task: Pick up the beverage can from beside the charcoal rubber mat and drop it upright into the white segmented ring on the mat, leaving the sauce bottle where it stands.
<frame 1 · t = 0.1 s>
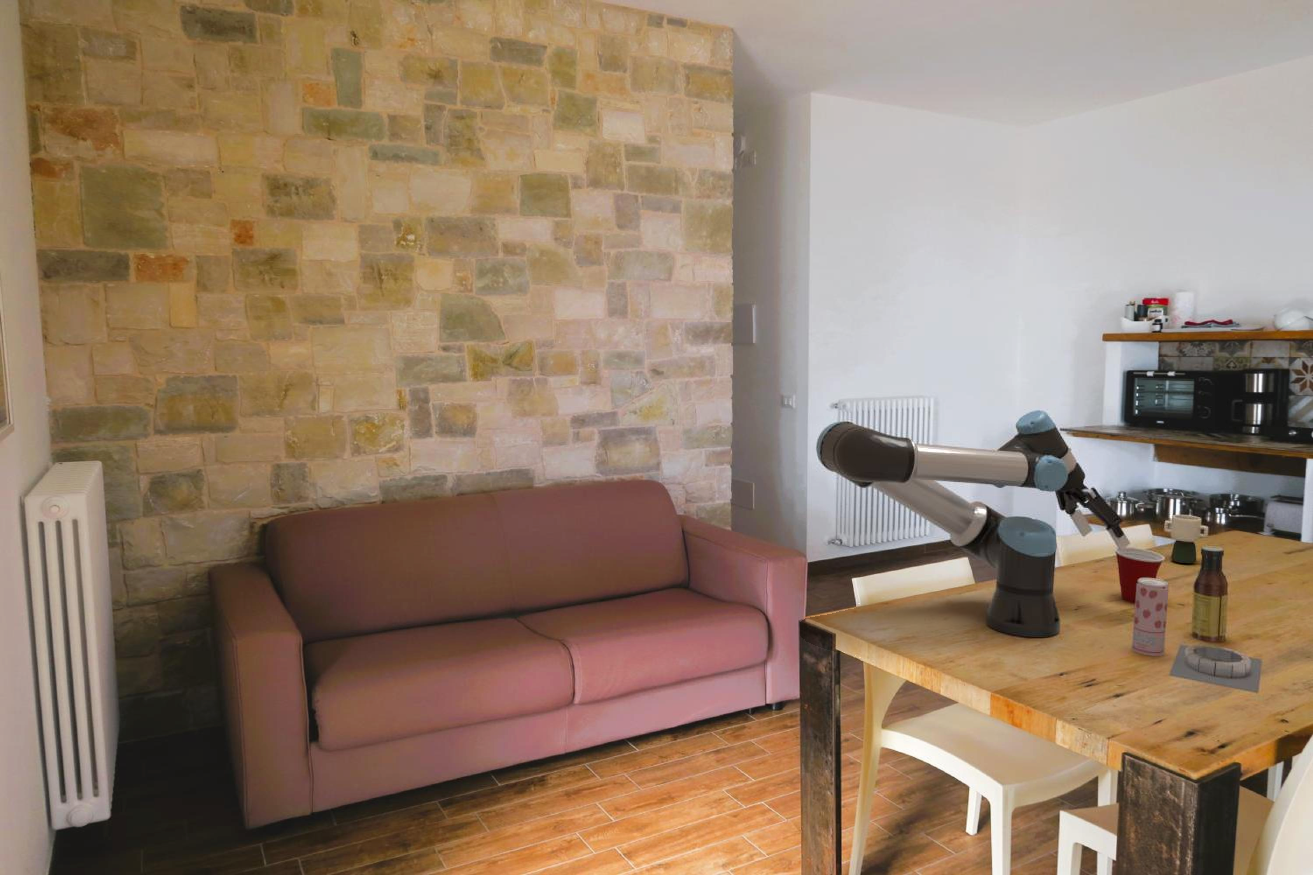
hand: (1105, 539, 213), 15 cm above the table, tool tilted 35°, fingers open, 13 cm apart
plastic cup: (1136, 600, 216), on the table
white segmented ring: (1216, 666, 173), resting on holder mat
sauce bottle: (1207, 640, 189), on the table
cup on green stand: (1183, 563, 251), on the table
beverage can: (1147, 653, 182), on the table
holder mat: (1216, 669, 173), on the table
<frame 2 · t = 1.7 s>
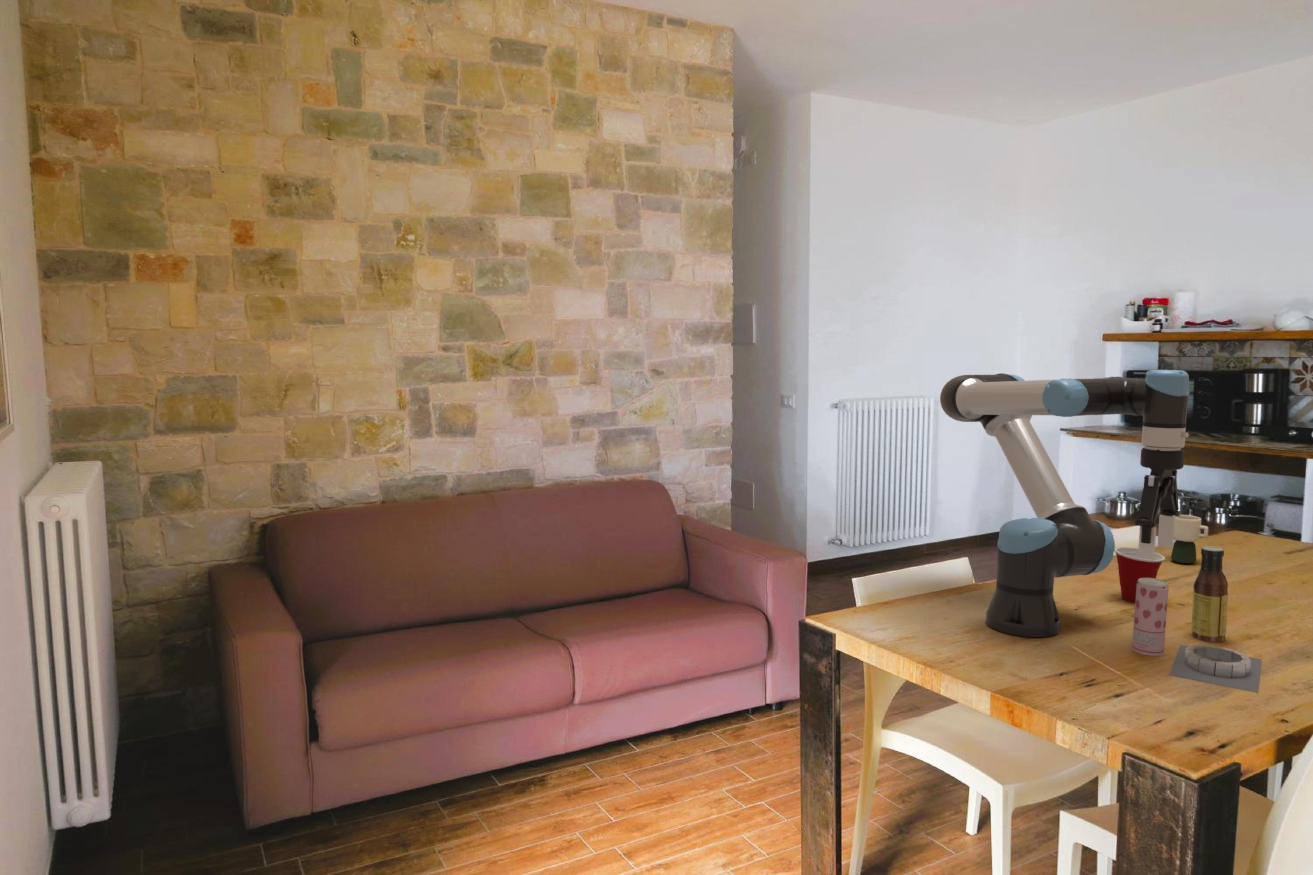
hand: (1155, 552, 180), 21 cm above the table, tool pointing down, fingers open, 13 cm apart
nothing on the table moved.
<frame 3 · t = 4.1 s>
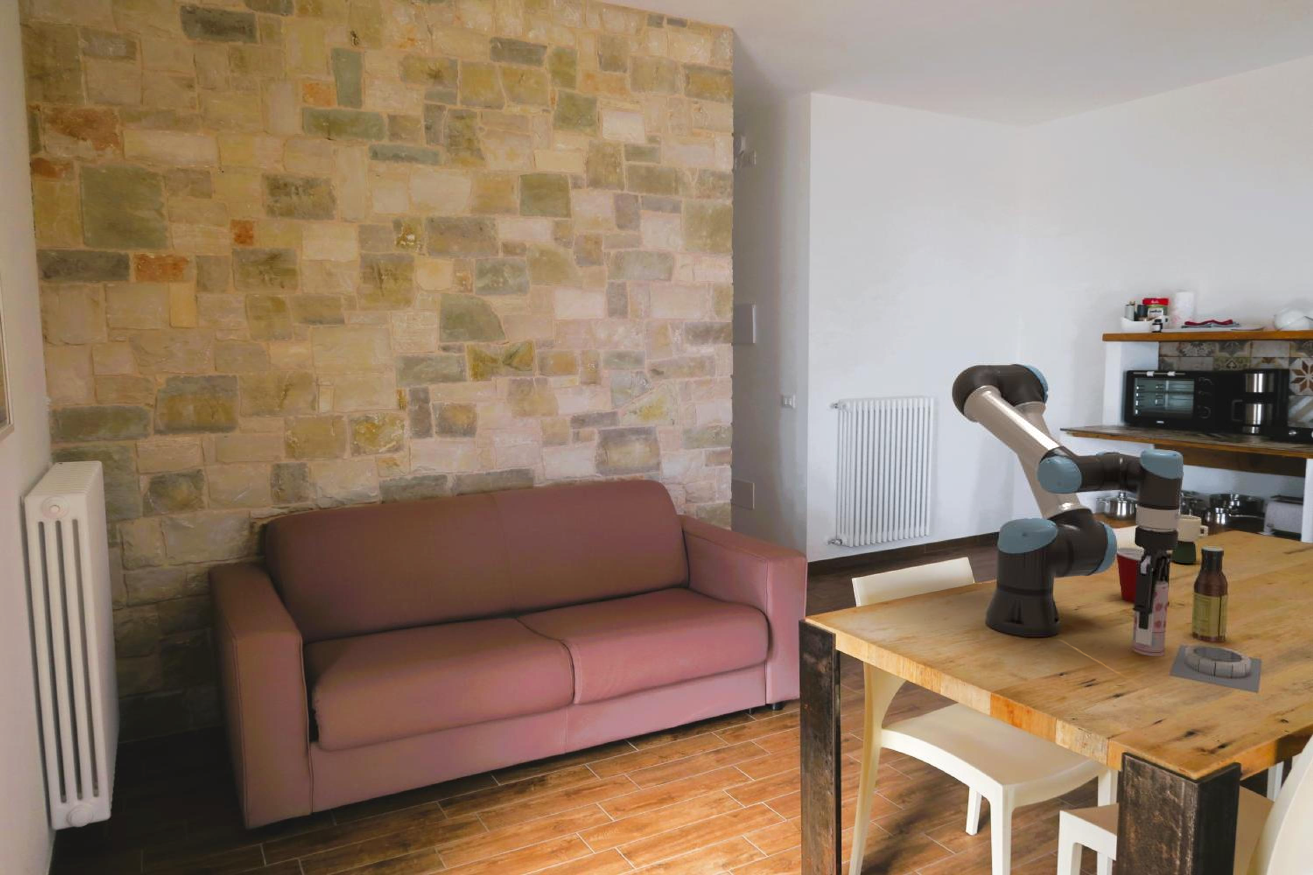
hand: (1148, 639, 181), 3 cm above the table, tool pointing down, fingers closed on beverage can, 6 cm apart
beverage can: (1147, 653, 182), on the table, touching gripper
everything else where it was.
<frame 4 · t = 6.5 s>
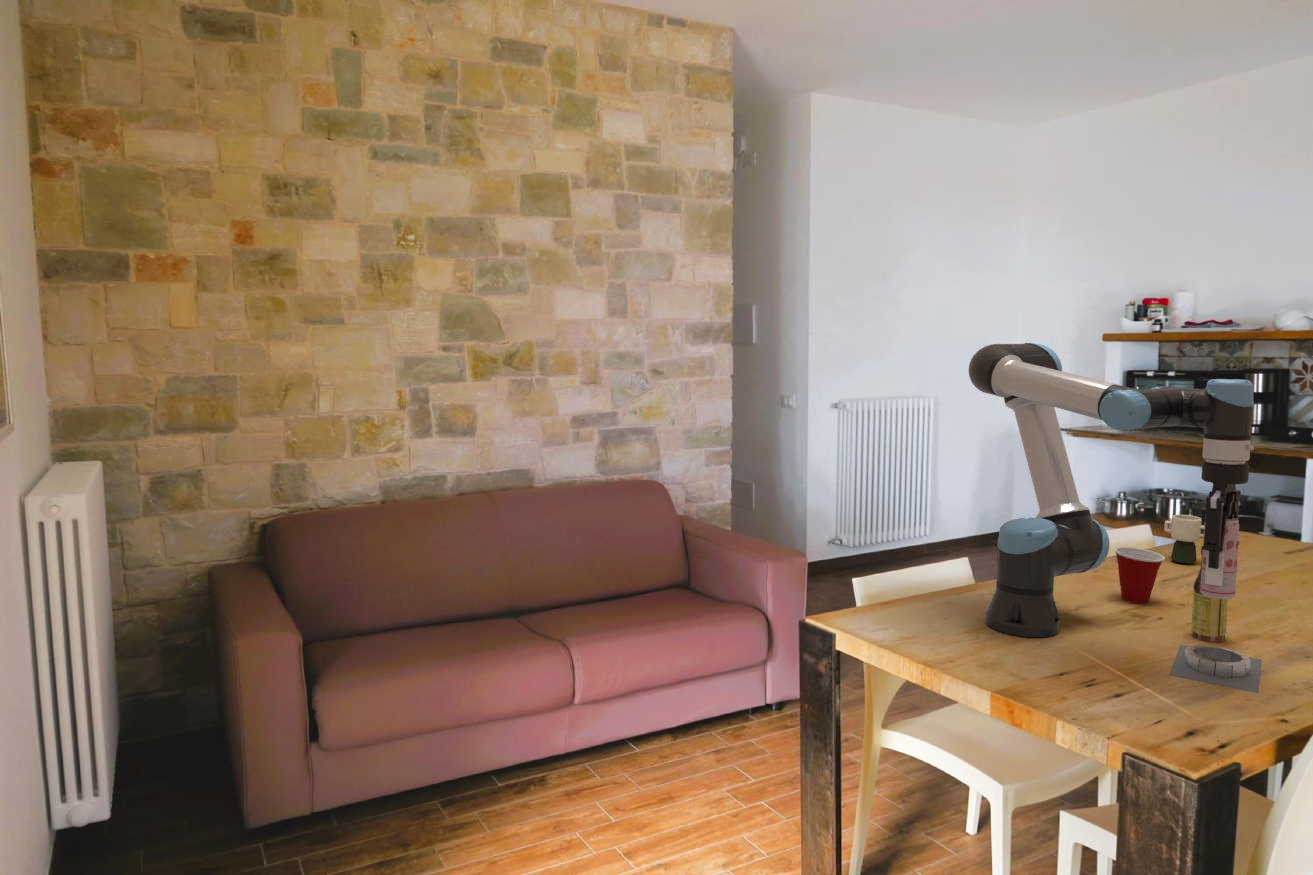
hand: (1218, 581, 171), 17 cm above the table, tool pointing down, fingers closed on beverage can, 6 cm apart
beverage can: (1217, 596, 171), point 14 cm above the table, touching gripper
everything else where it was.
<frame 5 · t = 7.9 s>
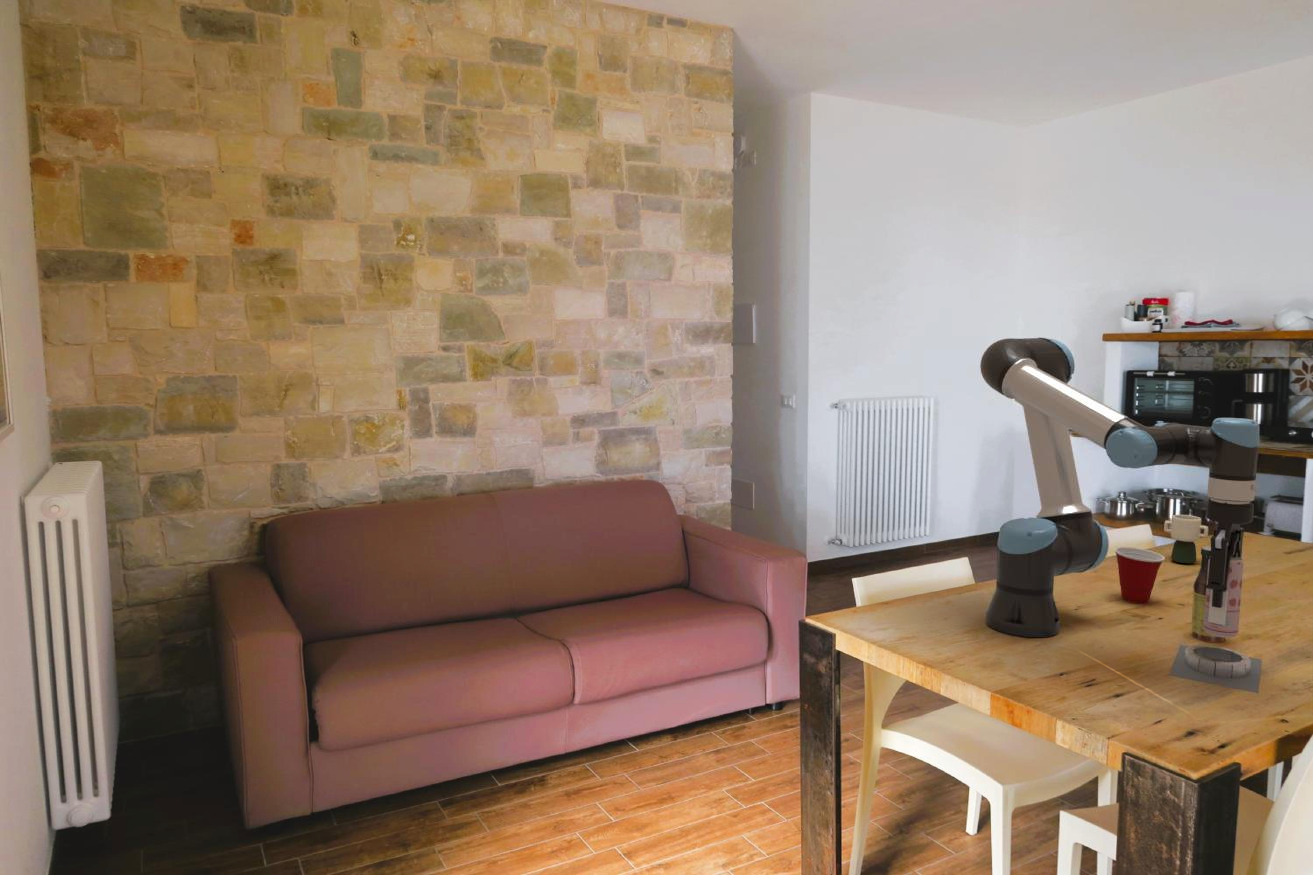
hand: (1221, 618, 171), 10 cm above the table, tool pointing down, fingers closed on beverage can, 6 cm apart
beverage can: (1220, 634, 172), point 7 cm above the table, touching gripper
everything else where it was.
when the fingers open (6 cm above the table, at t = 9.0 s): beverage can drops 2 cm, resting on holder mat.
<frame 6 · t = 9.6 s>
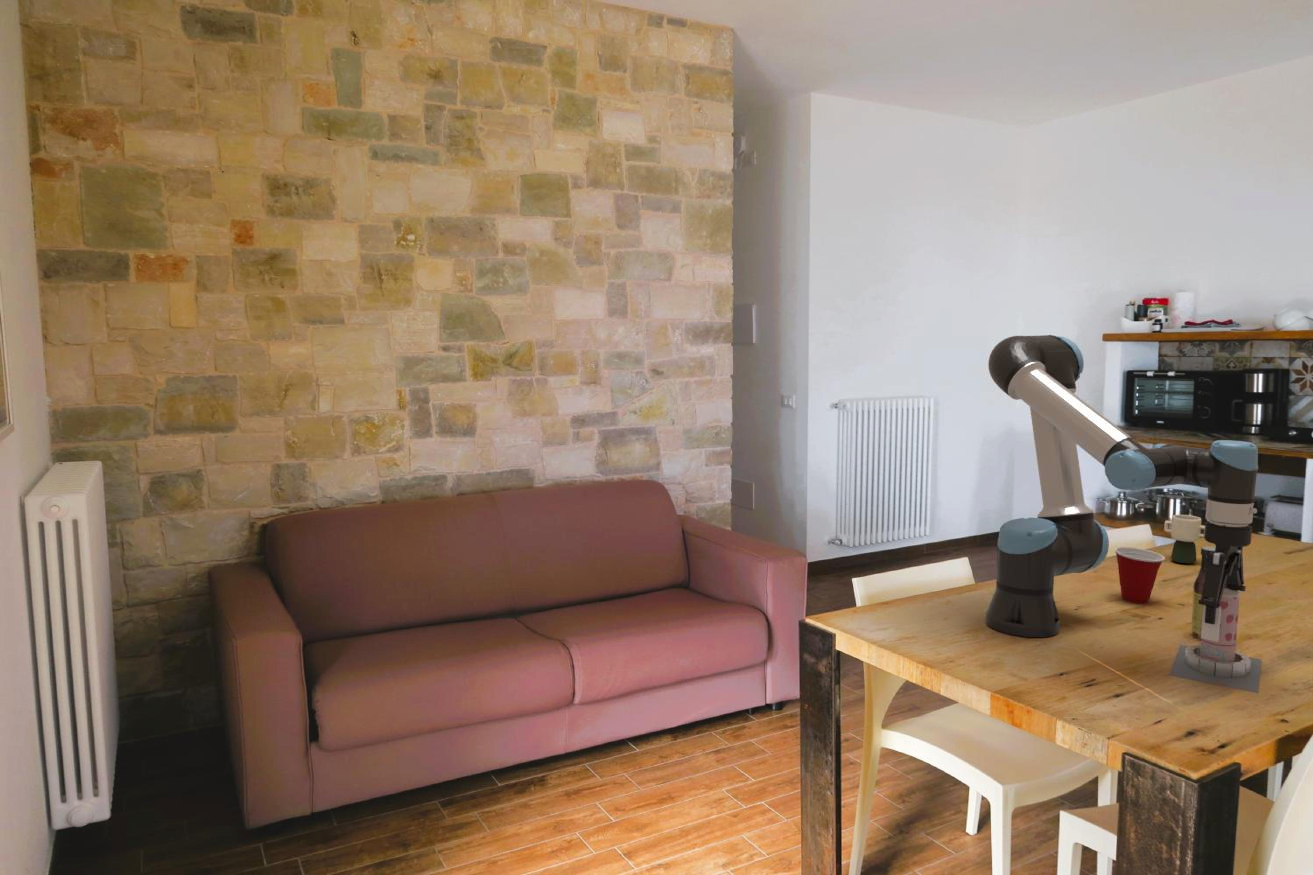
hand: (1219, 630, 172), 8 cm above the table, tool pointing down, fingers open, 13 cm apart
beverage can: (1216, 667, 173), resting on holder mat
everything else where it was.
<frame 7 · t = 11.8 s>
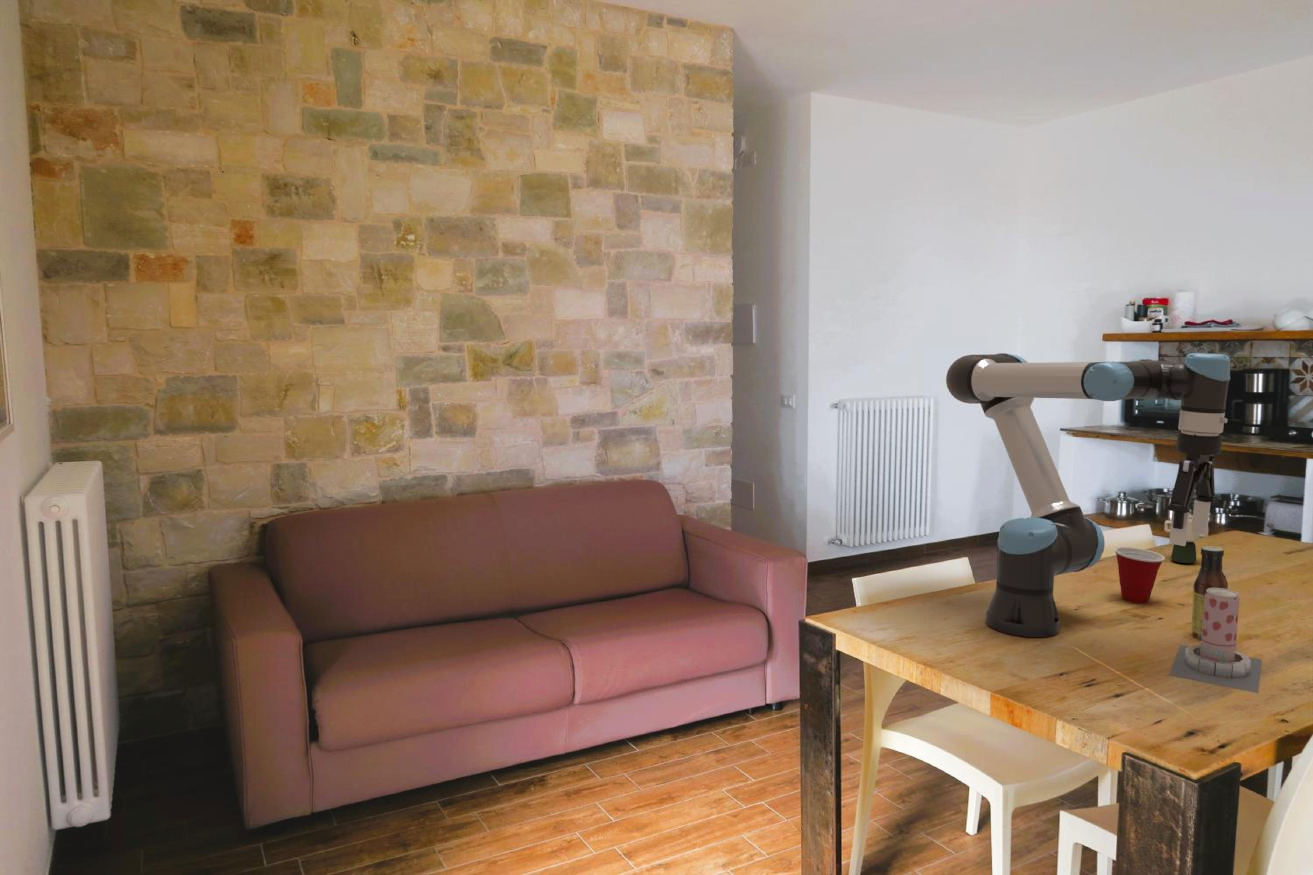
hand: (1188, 538, 178), 24 cm above the table, tool pointing down, fingers open, 13 cm apart
nothing on the table moved.
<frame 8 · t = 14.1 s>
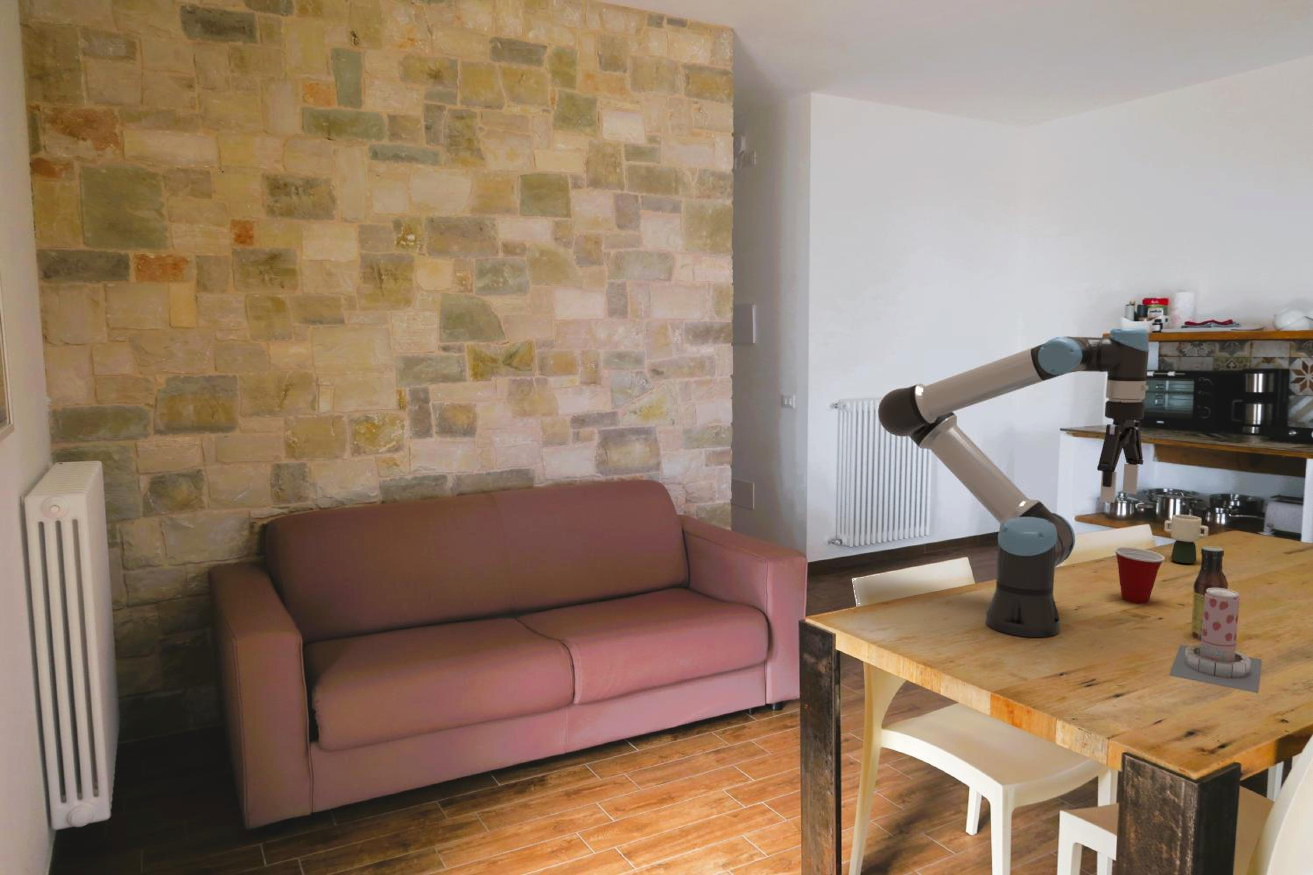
hand: (1118, 497, 195), 29 cm above the table, tool pointing down, fingers open, 13 cm apart
nothing on the table moved.
at the end: beverage can 0.1 cm off-centre on the white segmented ring, point 0.0 cm above the white segmented ring's base; beverage can tilted 0°; the gripper is holding nothing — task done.
